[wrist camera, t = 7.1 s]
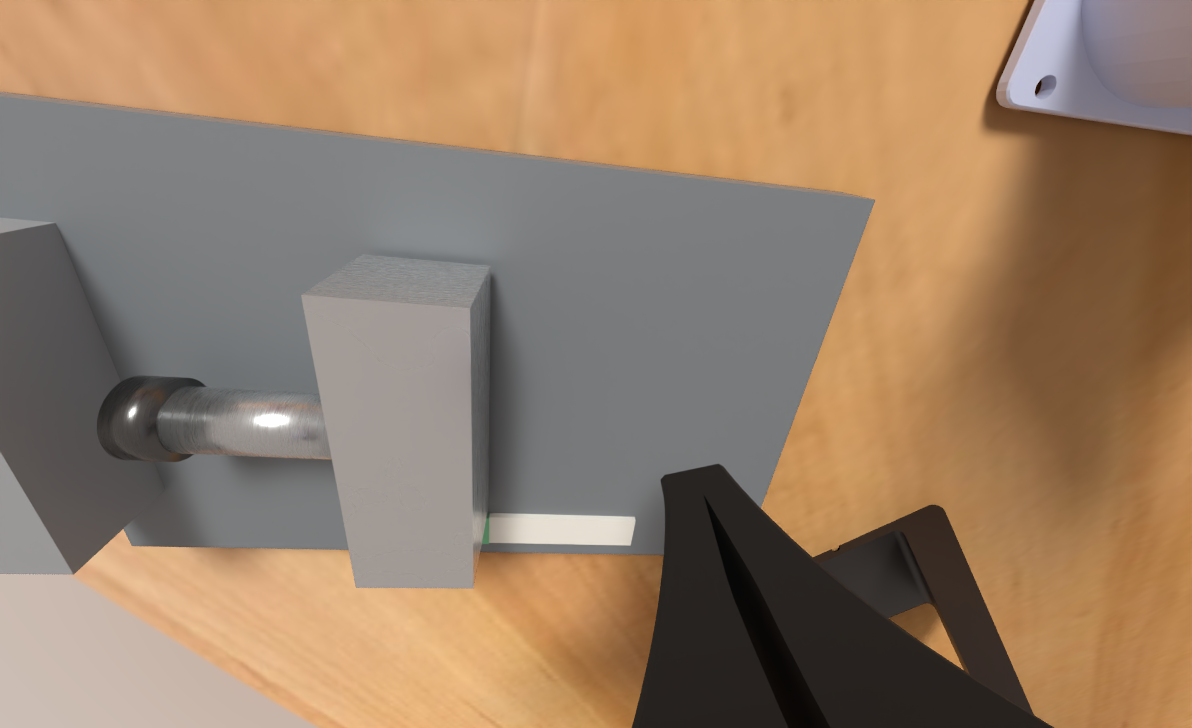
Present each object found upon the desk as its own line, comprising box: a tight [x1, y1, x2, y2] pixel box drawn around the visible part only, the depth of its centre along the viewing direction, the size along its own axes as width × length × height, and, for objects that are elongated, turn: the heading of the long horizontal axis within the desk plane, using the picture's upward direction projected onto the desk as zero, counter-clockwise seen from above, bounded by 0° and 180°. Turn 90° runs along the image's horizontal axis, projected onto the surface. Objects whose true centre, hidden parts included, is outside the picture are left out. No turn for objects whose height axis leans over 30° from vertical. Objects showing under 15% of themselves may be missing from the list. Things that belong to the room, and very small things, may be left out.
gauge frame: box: [0, 92, 875, 575], centre depth 13 cm, size 21×13×4 cm, turn 84°
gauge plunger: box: [97, 254, 491, 588], centre depth 12 cm, size 8×10×3 cm
